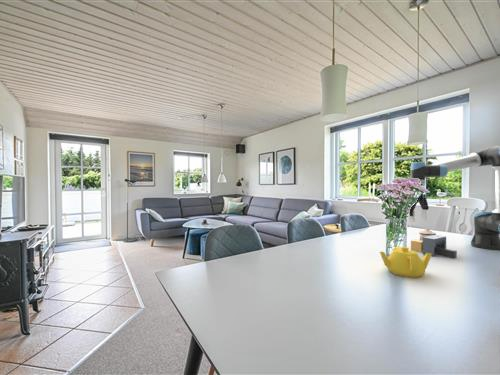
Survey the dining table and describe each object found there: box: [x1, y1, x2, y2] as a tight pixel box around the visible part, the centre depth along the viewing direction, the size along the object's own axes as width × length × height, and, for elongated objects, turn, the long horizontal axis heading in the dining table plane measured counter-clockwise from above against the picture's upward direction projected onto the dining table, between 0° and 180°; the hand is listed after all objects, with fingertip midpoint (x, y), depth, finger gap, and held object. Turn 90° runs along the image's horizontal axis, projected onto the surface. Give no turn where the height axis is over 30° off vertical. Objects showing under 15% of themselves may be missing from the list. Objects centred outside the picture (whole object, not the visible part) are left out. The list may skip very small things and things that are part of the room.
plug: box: [410, 239, 458, 259], centre depth 147 cm, size 6×22×6 cm, turn 29°
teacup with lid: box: [418, 228, 437, 241], centre depth 163 cm, size 12×9×12 cm
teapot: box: [379, 246, 432, 278], centre depth 116 cm, size 17×17×12 cm
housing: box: [422, 234, 447, 257], centre depth 146 cm, size 14×6×10 cm, turn 119°
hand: (418, 220), depth 154 cm, fingers open, 13 cm apart
